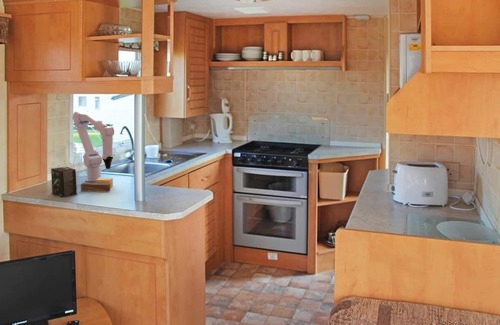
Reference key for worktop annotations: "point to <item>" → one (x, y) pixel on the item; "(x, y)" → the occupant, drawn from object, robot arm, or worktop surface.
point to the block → (105, 181)
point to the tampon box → (63, 181)
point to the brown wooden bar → (95, 187)
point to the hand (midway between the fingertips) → (108, 168)
